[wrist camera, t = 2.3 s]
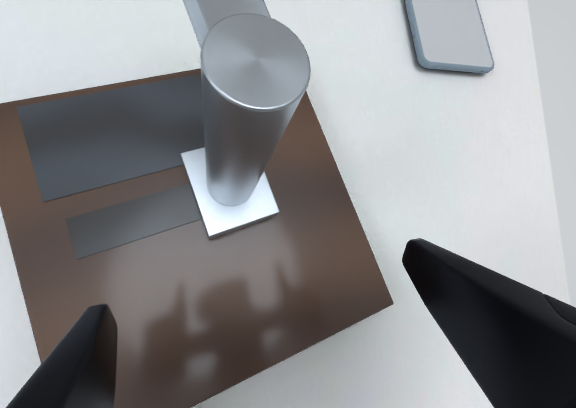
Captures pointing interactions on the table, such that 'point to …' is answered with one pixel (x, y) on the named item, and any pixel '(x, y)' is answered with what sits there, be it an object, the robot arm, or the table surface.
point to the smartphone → (449, 35)
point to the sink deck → (175, 240)
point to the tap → (241, 108)
